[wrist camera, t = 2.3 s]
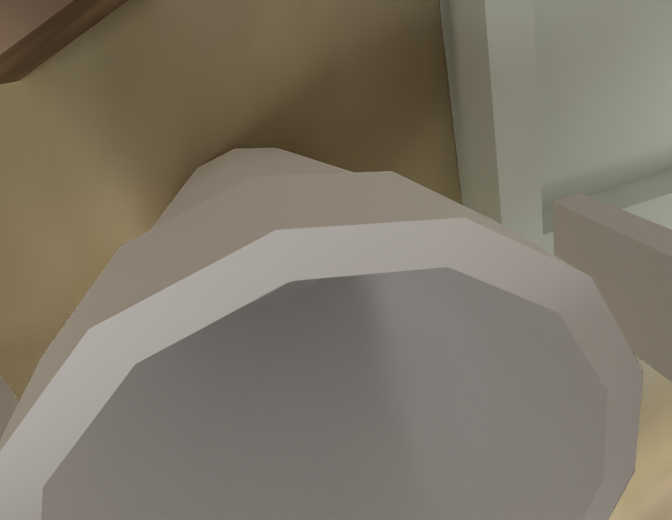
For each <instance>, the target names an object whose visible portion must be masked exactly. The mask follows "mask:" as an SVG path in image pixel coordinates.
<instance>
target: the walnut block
mask: <svg viewBox="0 0 672 520" xmlns="http://www.w3.org/2000/svg"><path fill="white" fill-rule="evenodd" d="M126 1H127V0H0V84H4V83H9V82H14V81H19V80H20V79H22V78H23V77H24V76H26V75H27V74H28V73H30V72H31V71H32V70H34V69H35V68H36V67H38V66H39V65H41V64H42V63H43V62H45V61H46V60H47V59H49V58H50V57H51V56H53V55H54V54H55V53H57V52H58V51H60V50H61V49H62V48H64V47H65V46H66V45H68V44H69V43H70V42H72V41H73V40H74V39H76V38H77V37H79V36H80V35H81V34H83V33H84V32H85V31H87V30H88V29H89V28H91V27H92V26H93V25H95V24H96V23H98V22H99V21H100V20H102V19H103V18H104V17H106V16H107V15H108V14H110V13H111V12H112V11H114V10H115V9H117V8H118V7H119V6H121V5H122V4H123V3H125V2H126Z"/></svg>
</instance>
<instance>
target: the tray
mask: <svg viewBox="0 0 672 520" xmlns="http://www.w3.org/2000/svg"><path fill="white" fill-rule="evenodd" d="M439 3H440V12H441V21H442V30H443V39H444V47H445V56H446V65H447V74H448V83H449V92H450V101H451V110H452V119H453V127H454V136H455V145H456V154H457V163H458V172H459V181H460V190H461V198H462V205H463V206H465V207H468V208H470V209H472V210H474V211H476V212H478V213H480V214H482V215H484V216H486V217H488V218H490V219H492V220H494V221H496V222H498V223H500V224H501V225H503V226H505V227H506V228H508V229H510V230H512V231H513V232H515V233H517V234H518V235H520V236H522V237H524V238H525V239H527V240H529V241H530V242H532V243H534V244H536V245H537V246H539V247H541V248H542V249H544V250H546V251H548V252H549V253H551V254H553V255H554V234H553V201H556V200H559V199H562V198H565V197H569V196H572V195H575V194H578V193H582V194H585V195H587V196H590V197H592V198H595V199H597V200H600V201H602V202H604V203H607V204H609V205H612V206H614V207H617V208H619V209H622V210H624V211H627V212H629V213H632V214H634V215H637V216H639V217H641V218H644V219H646V220H649V221H651V222H654V223H656V224H659V225H661V226H664V227H666V228H669V229H671V230H672V0H439Z"/></svg>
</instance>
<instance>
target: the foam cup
mask: <svg viewBox="0 0 672 520" xmlns="http://www.w3.org/2000/svg"><path fill="white" fill-rule="evenodd" d="M642 379H643V370H642V369H641V367H640V365H639V363H638V361H637V359H636V358H635V356H634V354H633V352H632V350H631V348H630V347H629V345H628V343H627V341H626V339H625V338H624V336H623V334H622V332H621V330H620V328H619V327H618V325H617V323H616V321H615V319H614V317H613V316H612V314H611V312H610V310H609V308H608V306H607V305H606V303H605V301H604V299H603V297H602V296H601V294H600V292H599V290H598V288H597V286H596V285H595V283H594V281H593V279H592V277H590V276H589V275H587V274H585V273H583V272H582V271H580V270H578V269H577V268H575V267H573V266H571V265H570V264H568V263H566V262H565V261H563V260H561V259H559V258H558V257H556V256H554V255H553V254H551V253H549V252H548V251H546V250H544V249H542V248H541V247H539V246H537V245H536V244H534V243H532V242H530V241H529V240H527V239H525V238H524V237H522V236H520V235H518V234H517V233H515V232H513V231H512V230H510V229H508V228H506V227H505V226H503V225H501V224H500V223H498V222H496V221H494V220H492V219H490V218H488V217H486V216H484V215H482V214H480V213H478V212H476V211H474V210H472V209H470V208H468V207H465V206H463V205H461V204H459V203H457V202H455V201H453V200H451V199H449V198H447V197H445V196H443V195H441V194H438V193H436V192H434V191H432V190H430V189H428V188H426V187H424V186H422V185H420V184H418V183H416V182H414V181H411V180H409V179H407V178H405V177H403V176H401V175H399V174H397V173H395V172H393V171H380V172H351V171H348V170H345V169H342V168H339V167H336V166H332V165H329V164H326V163H323V162H320V161H317V160H314V159H311V158H308V157H304V156H301V155H298V154H295V153H292V152H289V151H286V150H283V149H280V148H275V147H273V148H235V149H232V150H230V151H228V152H226V153H225V154H223V155H221V156H219V157H217V158H215V159H213V160H211V161H209V162H207V163H205V164H203V165H201V166H200V167H198V168H197V169H196V170H195V171H194V172H193V174H192V175H191V176H190V178H189V179H188V180H187V182H186V183H185V184H184V186H183V187H182V188H181V190H180V191H179V192H178V194H177V195H176V196H175V198H174V199H173V200H172V202H171V203H170V204H169V206H168V207H167V208H166V210H165V211H164V212H163V214H162V215H161V216H160V218H159V219H158V220H157V222H156V223H155V224H154V225H153V227H152V228H151V229H150V231H148V232H146V233H144V234H142V235H140V236H138V237H136V238H134V239H132V240H131V241H129V242H127V243H125V244H123V245H121V246H120V247H119V248H118V250H117V251H116V253H115V254H114V255H113V257H112V258H111V260H110V261H109V262H108V264H107V265H106V267H105V268H104V269H103V271H102V272H101V274H100V275H99V277H98V278H97V279H96V281H95V282H94V284H93V285H92V286H91V288H90V289H89V291H88V292H87V293H86V295H85V296H84V298H83V299H82V300H81V302H80V303H79V305H78V306H77V307H76V309H75V310H74V312H73V313H72V314H71V316H70V317H69V319H68V320H67V321H66V323H65V324H64V326H63V327H62V328H61V330H60V331H59V333H58V334H57V335H56V337H55V338H54V340H53V341H52V342H51V344H50V345H49V347H48V348H47V350H46V351H45V352H44V354H43V355H42V357H41V359H40V361H39V363H38V365H37V367H36V369H35V371H34V373H33V375H32V377H31V379H30V381H29V383H28V385H27V387H26V389H25V391H24V393H23V395H22V397H21V399H20V401H19V403H18V405H17V407H16V409H15V411H14V413H13V415H12V417H11V419H10V421H9V423H8V425H7V427H6V429H5V431H4V433H3V435H2V437H1V439H0V520H608V519H609V517H610V516H611V514H612V512H613V510H614V508H615V507H616V505H617V503H618V501H619V499H620V497H621V496H622V494H623V492H624V490H625V488H626V487H627V485H628V483H629V481H630V479H631V477H632V476H633V474H634V472H635V460H636V449H637V437H638V425H639V414H640V402H641V390H642Z"/></svg>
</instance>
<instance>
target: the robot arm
mask: <svg viewBox="0 0 672 520" xmlns="http://www.w3.org/2000/svg"><path fill="white" fill-rule="evenodd" d="M553 234H554V256H556V257H558V258H559V259H561V260H563V261H565V262H566V263H568V264H570V265H571V266H573V267H575V268H577V269H578V270H580V271H582V272H583V273H585V274H587V275H589V276H590V277H592V279H593V281H594V283H595V285H596V286H597V288H598V290H599V292H600V294H601V296H602V297H603V299H604V301H605V303H606V305H607V306H608V308H609V310H610V312H611V314H612V316H613V317H614V319H615V321H616V323H617V325H618V327H619V328H620V330H621V332H622V334H623V336H624V338H625V339H626V341H627V343H628V345H629V347H630V348H631V350H632V352H633V354H634V355H636V356H637V357H639V358H640V359H641V360H643V361H644V362H645V363H647V364H648V365H650V366H651V367H652V368H654V369H655V370H656V371H658V372H659V373H660V374H662V375H663V376H665V377H666V378H667V379H669V380H670V381H671V382H672V230H671V229H669V228H666V227H664V226H661V225H659V224H656V223H654V222H651V221H649V220H646V219H644V218H641V217H639V216H637V215H634V214H632V213H629V212H627V211H624V210H622V209H619V208H617V207H614V206H612V205H609V204H607V203H604V202H602V201H600V200H597V199H595V198H592V197H590V196H587V195H585V194H582V193H578V194H575V195H572V196H569V197H565V198H562V199H559V200H556V201H553ZM18 403H19V401H18V399H17V398H16V396H15V395H14V393H13V392H12V390H11V388H10V387H9V385H8V384H7V382H6V381H5V379H4V378H3V376H2V375H1V373H0V439H1V437H2V435H3V433H4V431H5V429H6V427H7V425H8V423H9V421H10V419H11V417H12V415H13V413H14V411H15V409H16V407H17V405H18Z"/></svg>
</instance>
